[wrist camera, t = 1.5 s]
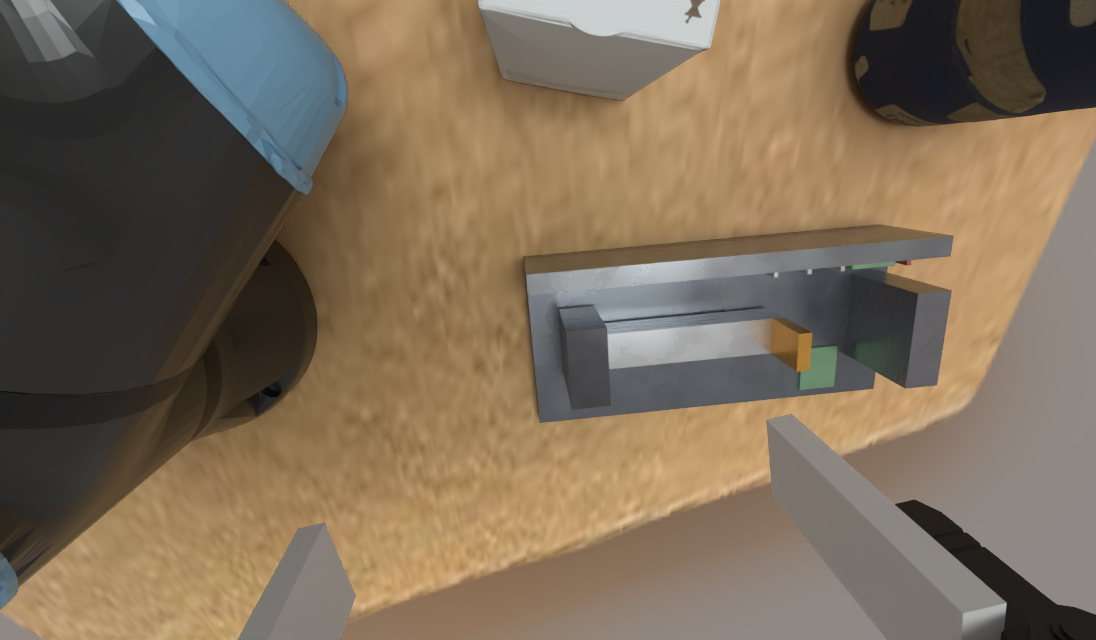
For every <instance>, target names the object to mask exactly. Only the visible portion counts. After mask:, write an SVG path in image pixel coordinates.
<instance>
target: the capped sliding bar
mask: <svg viewBox="0 0 1096 640" xmlns="http://www.w3.org/2000/svg"><path fill="white" fill-rule="evenodd" d="M559 317H560V330H561V343H562V356H563V369H564V379H565V383H566V387H567V392H568V396H569V400H570V404H571V408H572V410H574V409H584V408H594V407H604V406H611V398H610V377H609V369H617V368H627V367H637V366H647V365H657V364H667V363H677V362H687V361H697V360H708V359H718V358H728V357H738V356H748V355H758V354H768V353H771V354H773V355H774V356H775V357H777V358H778V359H779V360H781V361H782V362H784V363H785V364H786V365H788V366H789V367H791V368H792V369H793V370H795V371H796V372H800V371H809V370H810V358H811V345H812V332H810V331H808V330H807V329H805V328H803V327H801V326H799V325H798V324H796V323H794V322H792V321H790V320H788V319H787V318H785V317H783V316H781V315H779V314H778V313H776V312H774V311H772V310H770V309H768V308H758V309H748V310H737V311H727V312H716V313H706V314H695V315H685V316H675V317H664V318H654V319H643V320H633V321H622V322H612V323H604V322H603V320H602V318H601V317H600V315H599V313H598V311H597V310H596V308H595V306H587V307H576V308H565V309H559Z"/></svg>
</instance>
